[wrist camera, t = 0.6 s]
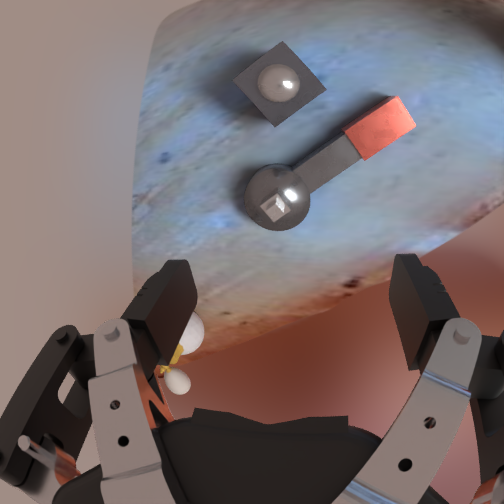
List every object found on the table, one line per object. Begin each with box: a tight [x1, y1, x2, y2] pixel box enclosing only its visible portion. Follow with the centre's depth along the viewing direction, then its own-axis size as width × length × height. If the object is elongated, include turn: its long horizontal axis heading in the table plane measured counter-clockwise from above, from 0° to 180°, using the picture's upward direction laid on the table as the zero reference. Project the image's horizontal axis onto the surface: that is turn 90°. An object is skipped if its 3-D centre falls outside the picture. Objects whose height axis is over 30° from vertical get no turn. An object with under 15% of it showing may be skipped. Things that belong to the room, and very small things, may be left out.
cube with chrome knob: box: [232, 41, 327, 127], centre depth 22 cm, size 6×6×6 cm
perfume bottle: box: [160, 311, 204, 394], centre depth 39 cm, size 8×10×12 cm
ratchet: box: [244, 96, 416, 231], centre depth 26 cm, size 20×7×6 cm, turn 131°
